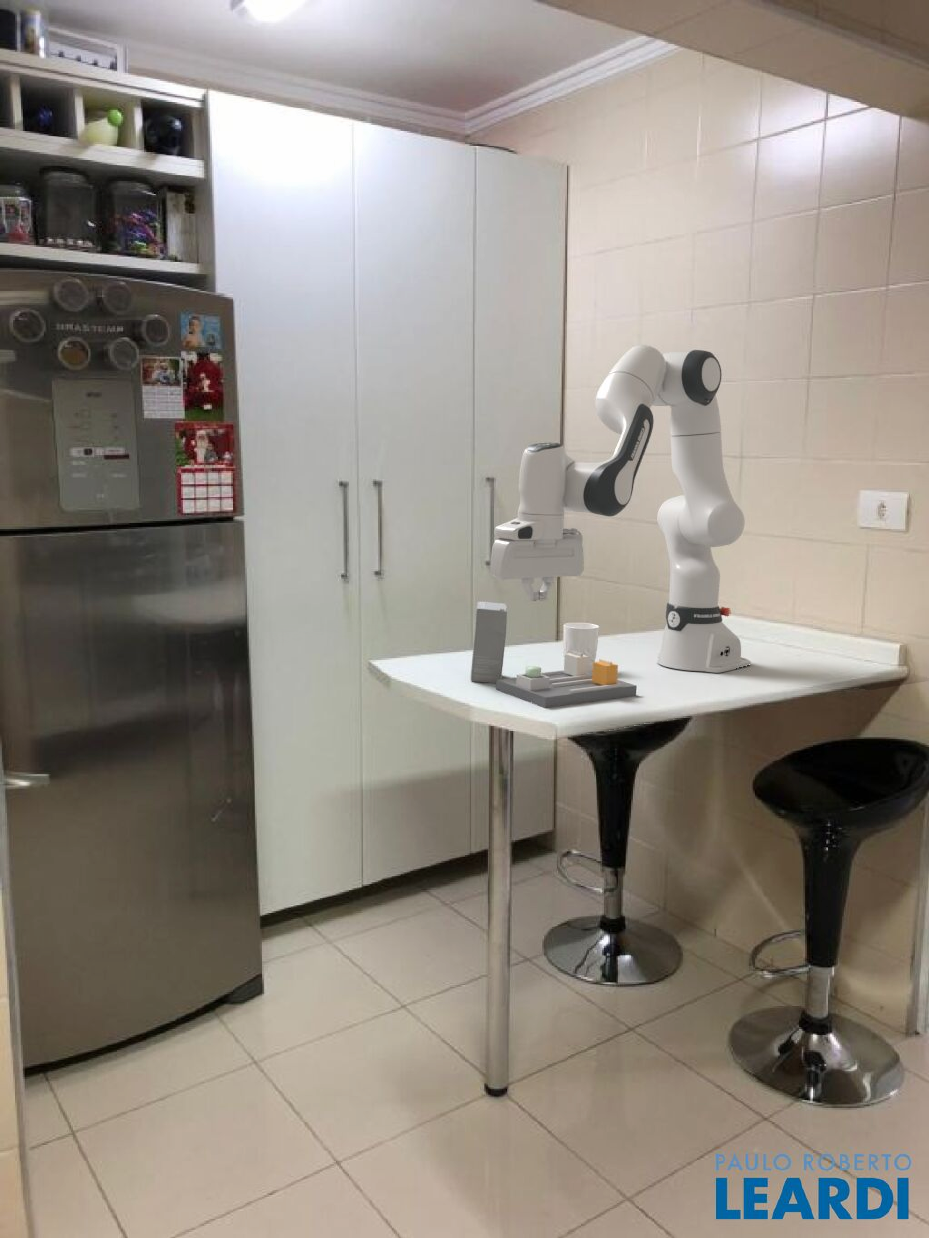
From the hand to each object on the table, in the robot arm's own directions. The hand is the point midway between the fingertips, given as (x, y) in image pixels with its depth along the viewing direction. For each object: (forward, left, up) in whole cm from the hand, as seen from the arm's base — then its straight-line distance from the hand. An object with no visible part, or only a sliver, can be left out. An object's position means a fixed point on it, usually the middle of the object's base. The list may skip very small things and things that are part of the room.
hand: (536, 600), depth 193 cm
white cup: (-25, -16, -19) cm, 35 cm away
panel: (-8, 0, -19) cm, 21 cm away
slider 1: (-14, -5, -17) cm, 23 cm away
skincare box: (-1, -17, -19) cm, 26 cm away
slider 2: (-14, +4, -17) cm, 23 cm away
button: (0, 0, -15) cm, 15 cm away
